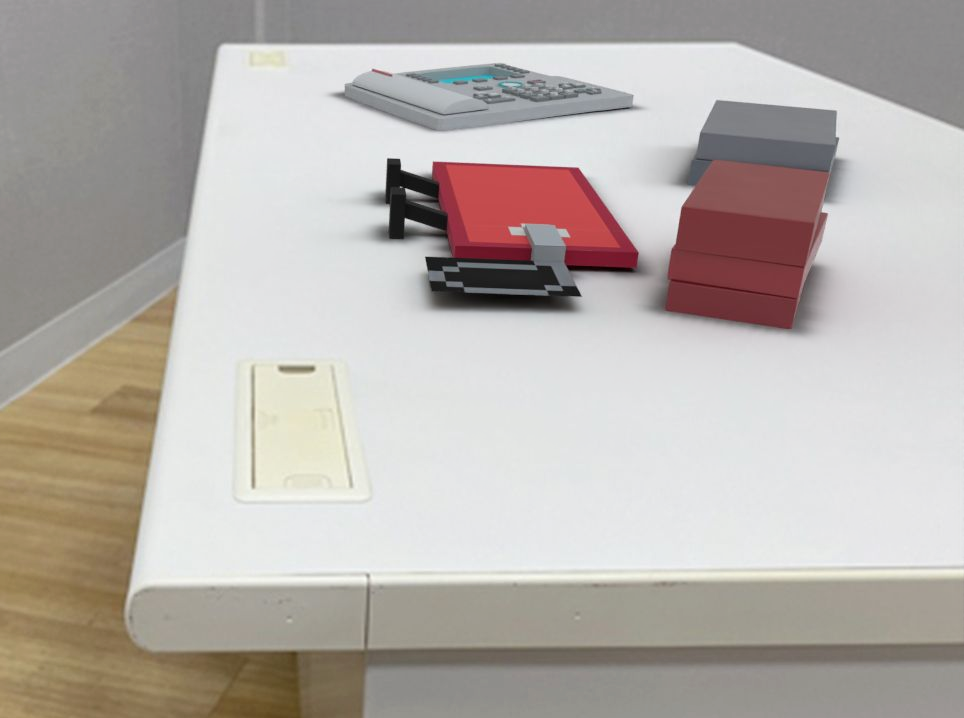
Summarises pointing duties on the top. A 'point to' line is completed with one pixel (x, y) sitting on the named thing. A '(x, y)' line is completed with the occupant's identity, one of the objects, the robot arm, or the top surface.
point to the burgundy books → (738, 286)
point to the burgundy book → (753, 212)
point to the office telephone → (480, 95)
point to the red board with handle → (509, 226)
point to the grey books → (766, 137)
